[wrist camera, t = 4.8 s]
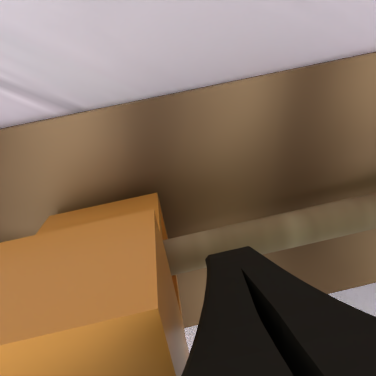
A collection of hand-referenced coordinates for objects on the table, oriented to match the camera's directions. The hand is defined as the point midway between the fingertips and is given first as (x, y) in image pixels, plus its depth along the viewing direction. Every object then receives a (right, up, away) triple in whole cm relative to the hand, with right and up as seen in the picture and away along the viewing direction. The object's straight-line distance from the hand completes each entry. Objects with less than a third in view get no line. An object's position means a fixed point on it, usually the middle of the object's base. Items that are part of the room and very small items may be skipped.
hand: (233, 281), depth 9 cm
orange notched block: (-4, 0, +3) cm, 5 cm away
